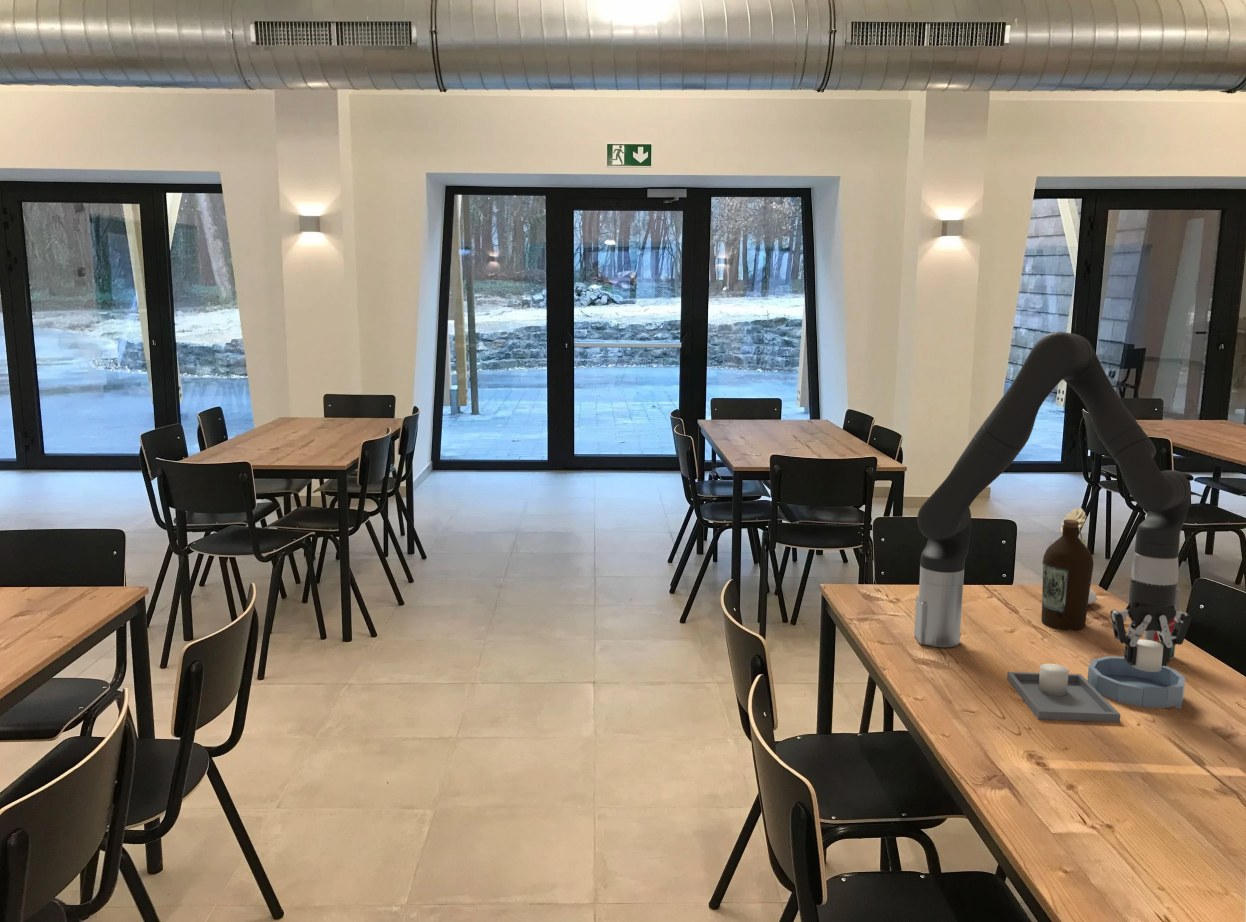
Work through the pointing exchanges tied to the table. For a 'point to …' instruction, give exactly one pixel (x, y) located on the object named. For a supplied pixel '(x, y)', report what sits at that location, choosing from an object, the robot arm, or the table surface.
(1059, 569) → the olive oil
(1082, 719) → the parts tray
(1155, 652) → the white marshmallow
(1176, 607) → the lotion bottle
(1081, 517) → the flower in vase
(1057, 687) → the marshmallow
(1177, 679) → the bowl
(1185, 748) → the table surface
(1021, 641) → the table surface
